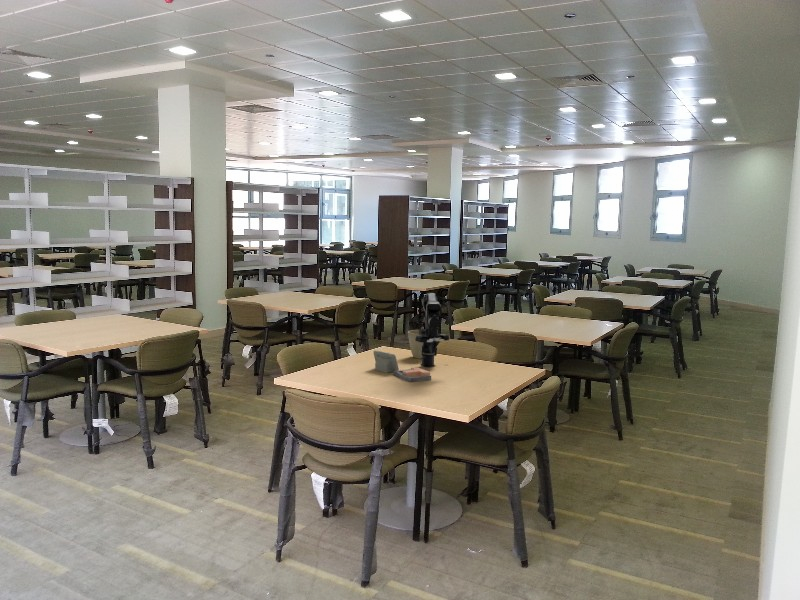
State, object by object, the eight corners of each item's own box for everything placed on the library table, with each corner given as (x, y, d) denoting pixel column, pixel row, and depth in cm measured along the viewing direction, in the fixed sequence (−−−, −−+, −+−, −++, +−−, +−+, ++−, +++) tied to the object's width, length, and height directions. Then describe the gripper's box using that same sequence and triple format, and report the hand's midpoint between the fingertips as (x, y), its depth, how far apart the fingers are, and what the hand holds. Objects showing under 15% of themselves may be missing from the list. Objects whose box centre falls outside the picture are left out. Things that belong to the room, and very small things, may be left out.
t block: (416, 373, 351) (417, 367, 351) (429, 378, 340) (430, 372, 340) (398, 375, 345) (398, 369, 345) (410, 380, 334) (411, 374, 334)
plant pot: (410, 360, 385) (410, 334, 383) (405, 354, 400) (405, 329, 398) (433, 359, 388) (434, 333, 386) (428, 354, 403) (428, 329, 401)
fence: (413, 372, 353) (413, 368, 353) (431, 379, 338) (431, 375, 338) (392, 374, 347) (393, 371, 346) (410, 382, 331) (410, 378, 331)
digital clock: (400, 372, 353) (400, 353, 351) (387, 374, 347) (387, 355, 346) (383, 366, 365) (383, 348, 364) (370, 368, 360) (370, 350, 359)
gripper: (438, 322, 357) (437, 349, 359) (410, 324, 347) (409, 352, 349) (450, 325, 347) (449, 353, 349) (421, 327, 338) (420, 356, 340)
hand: (431, 353), depth 347 cm, fingers closed
